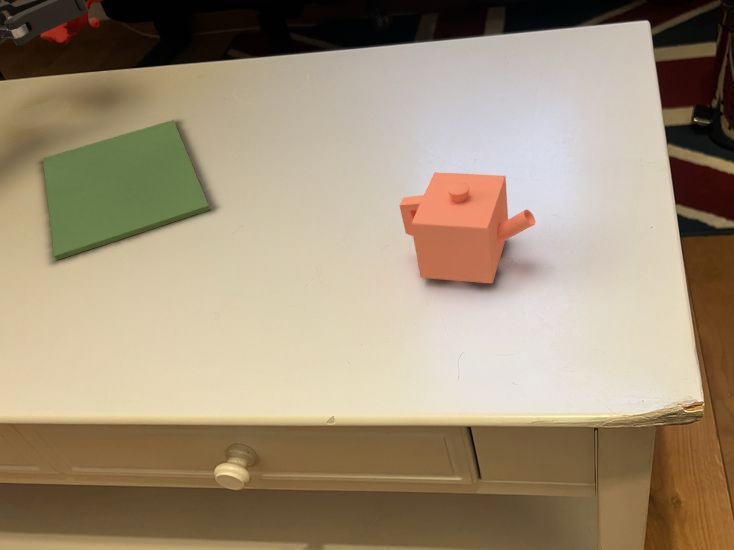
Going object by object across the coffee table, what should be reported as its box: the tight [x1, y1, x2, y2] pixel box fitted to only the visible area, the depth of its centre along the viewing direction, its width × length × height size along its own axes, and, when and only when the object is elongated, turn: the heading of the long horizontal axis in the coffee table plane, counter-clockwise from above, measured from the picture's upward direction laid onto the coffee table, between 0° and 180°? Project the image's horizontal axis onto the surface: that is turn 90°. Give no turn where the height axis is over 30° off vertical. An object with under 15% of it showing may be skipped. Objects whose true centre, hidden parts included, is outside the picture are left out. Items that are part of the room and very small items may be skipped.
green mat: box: [42, 119, 211, 261], centre depth 83 cm, size 22×16×1 cm
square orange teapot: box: [398, 171, 536, 284], centre depth 65 cm, size 8×12×8 cm, turn 77°
